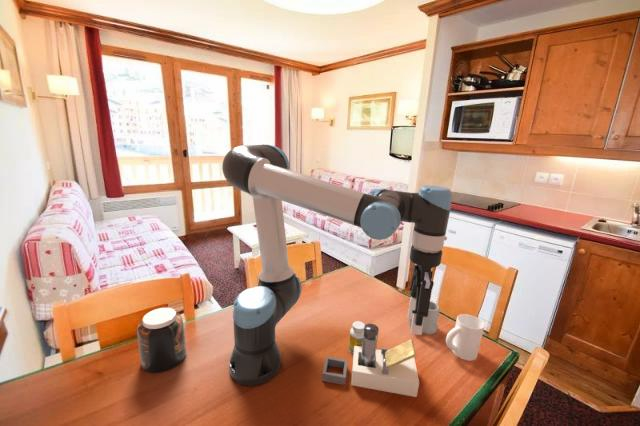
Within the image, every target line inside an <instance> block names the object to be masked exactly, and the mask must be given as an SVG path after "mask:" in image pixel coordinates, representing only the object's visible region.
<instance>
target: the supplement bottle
mask: <svg viewBox="0 0 640 426" xmlns="http://www.w3.org/2000/svg"><path fill="white" fill-rule="evenodd" d="M365 325H366V324H365V323H364V322H362V321H360V320H357V321H354V322H352V325H351V328H350V330H349V338H348V339H349V340H348V350H349V352H350V353H351V354H352V355H354V346H359V347H362V344H363V335H364V326H365Z"/></svg>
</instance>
